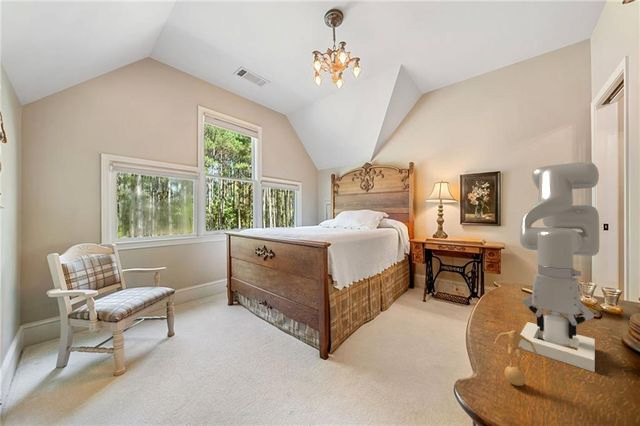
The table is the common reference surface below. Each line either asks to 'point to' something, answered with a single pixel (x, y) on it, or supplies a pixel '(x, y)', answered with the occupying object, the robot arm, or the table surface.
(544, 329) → the eye dropper bottle
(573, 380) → the table surface
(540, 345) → the cream square frame
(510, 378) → the figurine
